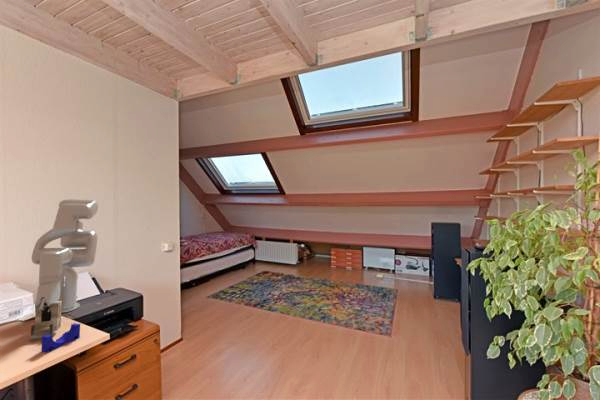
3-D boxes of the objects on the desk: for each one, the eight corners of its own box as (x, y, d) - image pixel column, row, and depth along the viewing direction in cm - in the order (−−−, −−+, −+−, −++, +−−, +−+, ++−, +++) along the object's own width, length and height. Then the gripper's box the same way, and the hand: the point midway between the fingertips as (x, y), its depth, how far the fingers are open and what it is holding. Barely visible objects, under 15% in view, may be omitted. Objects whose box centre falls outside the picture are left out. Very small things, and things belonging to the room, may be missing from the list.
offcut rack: (35, 336, 114) (36, 322, 114) (55, 334, 116) (56, 320, 116) (29, 341, 110) (30, 326, 110) (50, 339, 113) (51, 325, 113)
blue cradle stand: (71, 336, 116) (72, 322, 116) (79, 338, 115) (80, 324, 115) (38, 351, 104) (39, 335, 104) (46, 353, 103) (47, 337, 103)
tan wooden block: (38, 328, 120) (39, 302, 120) (60, 326, 123) (61, 300, 123) (34, 331, 118) (35, 304, 118) (57, 329, 120) (58, 303, 120)
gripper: (50, 274, 127) (48, 312, 127) (28, 284, 111) (26, 328, 111) (69, 273, 129) (67, 311, 129) (50, 283, 114) (48, 326, 114)
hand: (48, 318), depth 120 cm, fingers closed on tan wooden block, 3 cm apart
